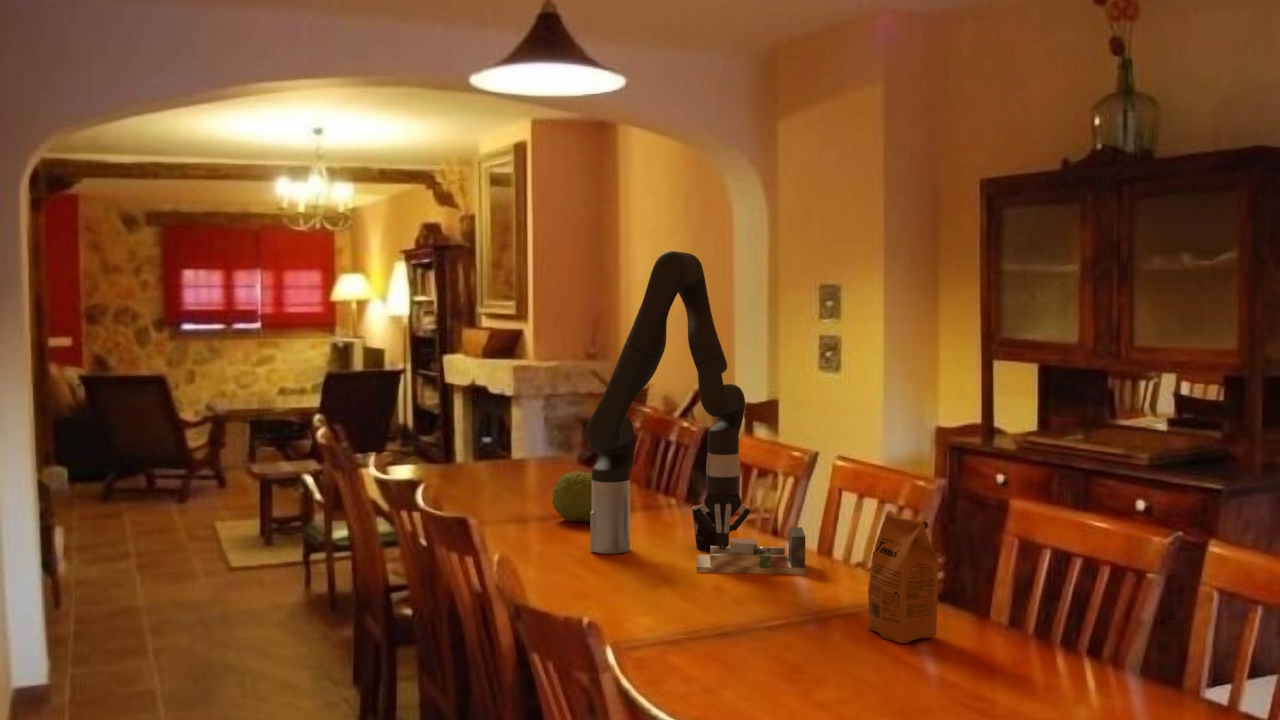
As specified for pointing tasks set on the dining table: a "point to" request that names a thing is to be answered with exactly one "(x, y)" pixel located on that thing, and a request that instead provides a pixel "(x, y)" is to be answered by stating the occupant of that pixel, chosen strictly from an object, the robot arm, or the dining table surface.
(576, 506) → the fruit
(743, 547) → the plunger
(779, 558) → the gauge bed
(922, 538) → the coffee package
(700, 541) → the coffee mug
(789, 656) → the dining table surface
